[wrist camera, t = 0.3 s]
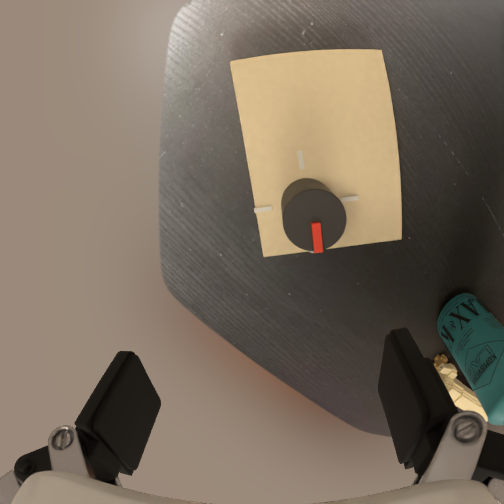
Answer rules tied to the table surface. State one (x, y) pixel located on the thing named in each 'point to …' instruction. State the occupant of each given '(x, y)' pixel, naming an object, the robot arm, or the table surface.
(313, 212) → the knob
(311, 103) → the beige knob base
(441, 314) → the beverage bottle
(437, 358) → the cream voxel toy figure
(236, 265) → the table surface
